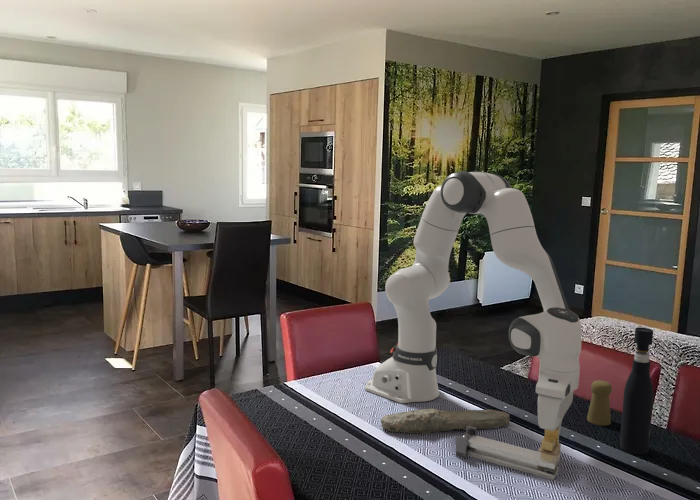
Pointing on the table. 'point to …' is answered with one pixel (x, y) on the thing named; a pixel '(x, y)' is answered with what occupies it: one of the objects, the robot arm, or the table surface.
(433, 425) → the elongated rock
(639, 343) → the wine bottle
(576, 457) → the table surface
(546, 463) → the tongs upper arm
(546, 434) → the tan l-shaped block
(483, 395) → the table surface
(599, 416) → the cork
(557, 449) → the tan wooden block
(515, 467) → the base
